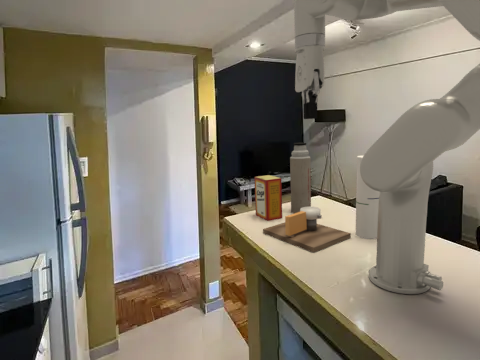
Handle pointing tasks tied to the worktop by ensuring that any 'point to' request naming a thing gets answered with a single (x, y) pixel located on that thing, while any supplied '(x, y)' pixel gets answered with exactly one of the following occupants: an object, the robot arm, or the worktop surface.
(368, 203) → the cylindrical container
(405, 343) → the worktop surface
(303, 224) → the cap
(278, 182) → the baking soda box
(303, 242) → the post base
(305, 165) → the thermos bottle
